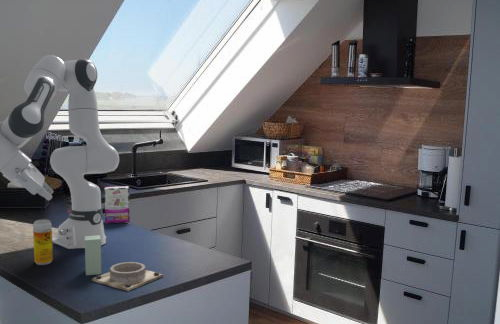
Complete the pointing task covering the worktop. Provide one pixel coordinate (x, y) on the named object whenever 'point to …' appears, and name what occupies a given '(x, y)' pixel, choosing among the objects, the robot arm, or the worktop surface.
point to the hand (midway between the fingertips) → (51, 196)
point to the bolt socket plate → (122, 285)
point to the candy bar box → (117, 204)
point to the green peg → (93, 255)
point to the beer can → (42, 242)
